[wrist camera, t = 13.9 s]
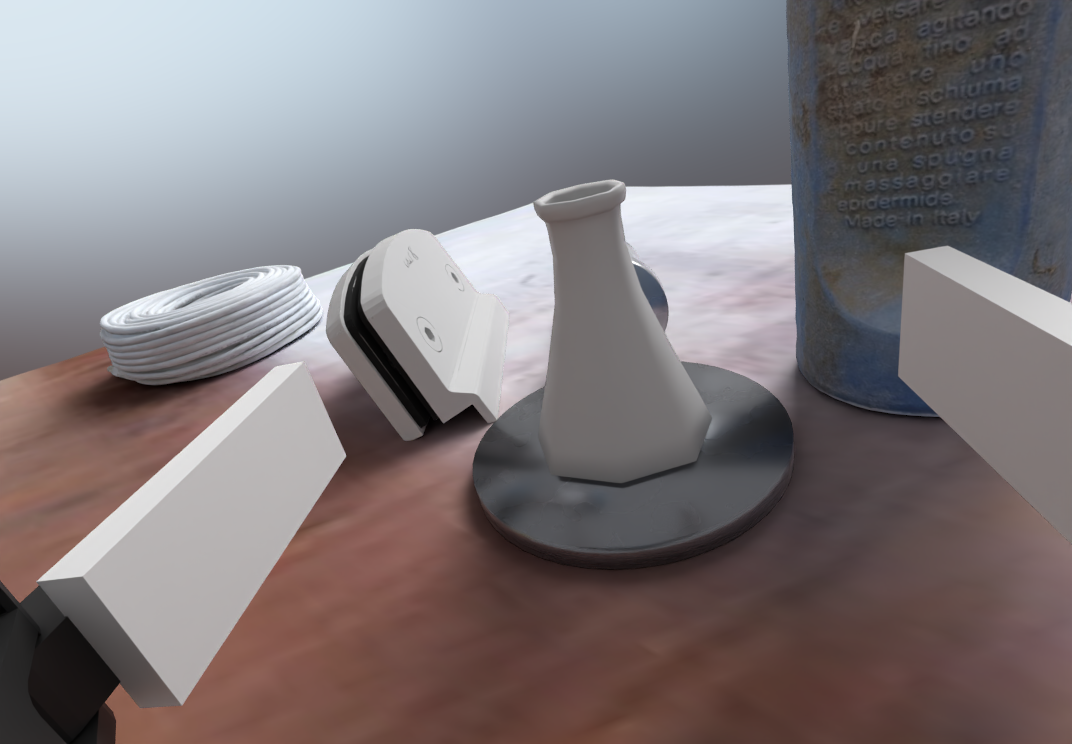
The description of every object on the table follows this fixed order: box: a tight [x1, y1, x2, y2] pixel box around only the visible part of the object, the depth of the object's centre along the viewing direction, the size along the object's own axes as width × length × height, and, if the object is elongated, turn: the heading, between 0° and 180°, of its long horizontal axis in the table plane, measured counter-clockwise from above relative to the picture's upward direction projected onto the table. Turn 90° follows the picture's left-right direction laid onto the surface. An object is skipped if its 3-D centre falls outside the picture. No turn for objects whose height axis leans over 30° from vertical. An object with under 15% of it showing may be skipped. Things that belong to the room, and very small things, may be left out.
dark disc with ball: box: [473, 242, 794, 569], centre depth 29 cm, size 13×26×6 cm, turn 174°
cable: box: [100, 265, 323, 385], centre depth 52 cm, size 18×18×6 cm
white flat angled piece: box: [326, 229, 510, 441], centre depth 35 cm, size 17×5×10 cm, turn 0°
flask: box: [533, 180, 712, 483], centre depth 22 cm, size 7×7×10 cm
